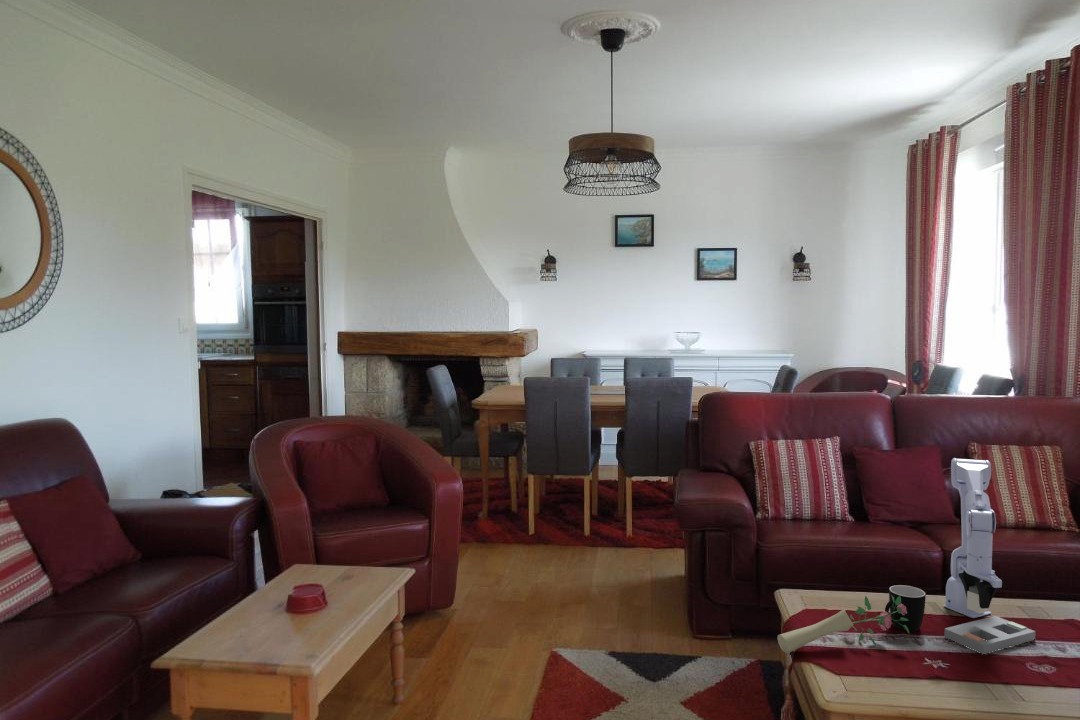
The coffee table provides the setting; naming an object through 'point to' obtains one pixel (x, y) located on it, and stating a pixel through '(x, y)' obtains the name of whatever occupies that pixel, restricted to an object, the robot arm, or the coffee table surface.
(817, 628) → the flower vase
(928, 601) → the coffee table surface
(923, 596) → the mug
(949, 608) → the robot arm
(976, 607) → the plug
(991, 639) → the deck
